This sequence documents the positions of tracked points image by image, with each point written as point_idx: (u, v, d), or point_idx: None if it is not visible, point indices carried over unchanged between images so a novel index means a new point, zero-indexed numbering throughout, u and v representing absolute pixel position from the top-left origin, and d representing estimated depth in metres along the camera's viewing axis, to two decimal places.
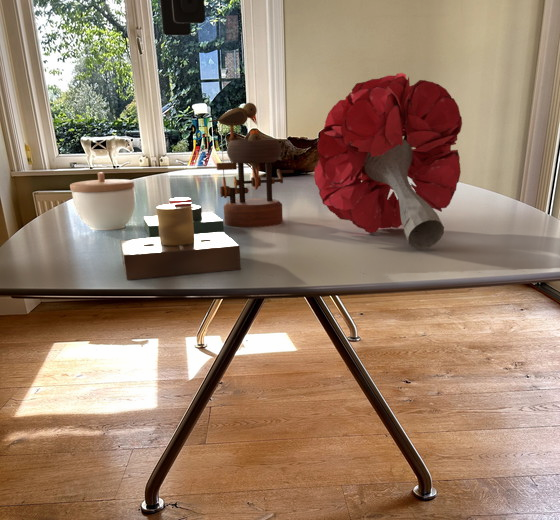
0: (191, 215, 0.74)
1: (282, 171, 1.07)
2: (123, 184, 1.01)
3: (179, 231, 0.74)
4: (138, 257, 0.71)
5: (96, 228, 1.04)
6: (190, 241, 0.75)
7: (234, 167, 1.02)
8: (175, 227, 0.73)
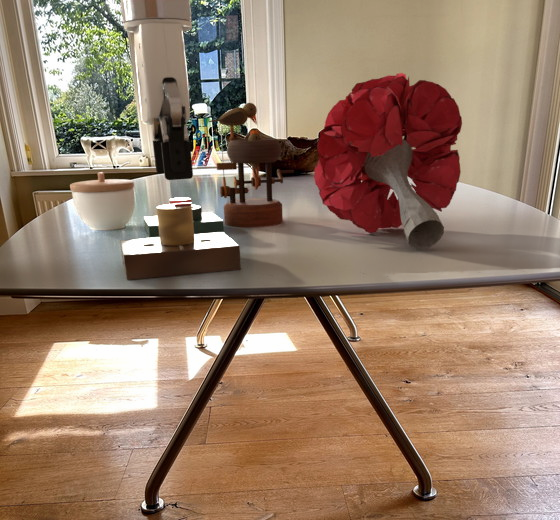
0: (191, 215, 0.74)
1: (282, 171, 1.07)
2: (123, 184, 1.01)
3: (179, 231, 0.74)
4: (138, 257, 0.71)
5: (96, 228, 1.04)
6: (190, 241, 0.75)
7: (234, 167, 1.02)
8: (175, 227, 0.73)
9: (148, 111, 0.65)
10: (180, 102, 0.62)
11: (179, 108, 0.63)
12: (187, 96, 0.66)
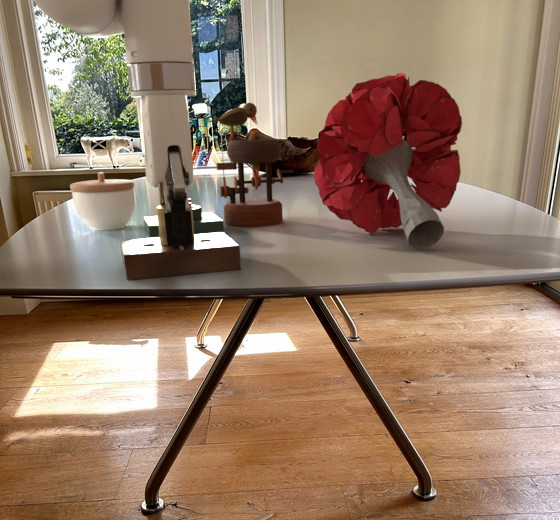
0: (191, 215, 0.74)
1: (282, 171, 1.07)
2: (123, 184, 1.01)
3: None
4: (138, 257, 0.71)
5: (96, 228, 1.04)
6: None
7: (234, 167, 1.02)
8: None
9: (153, 176, 0.68)
10: (184, 189, 0.67)
11: (182, 192, 0.68)
12: (191, 162, 0.69)
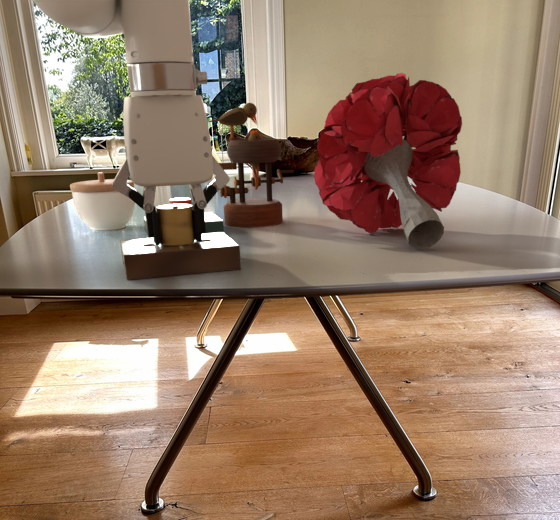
0: (168, 218, 0.73)
1: (282, 171, 1.07)
2: None
3: None
4: (138, 257, 0.71)
5: (96, 228, 1.04)
6: (165, 243, 0.74)
7: (234, 167, 1.02)
8: None
9: None
10: None
11: (118, 191, 0.72)
12: (130, 163, 0.69)
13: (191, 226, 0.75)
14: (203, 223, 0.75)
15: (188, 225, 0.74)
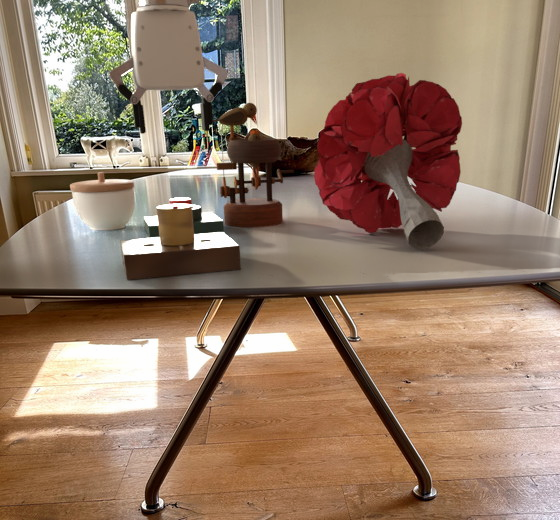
0: (168, 218, 0.73)
1: (282, 171, 1.07)
2: (123, 184, 1.01)
3: None
4: (138, 257, 0.71)
5: (96, 228, 1.04)
6: (165, 243, 0.74)
7: (234, 167, 1.02)
8: (158, 225, 0.75)
9: (136, 80, 0.90)
10: (109, 75, 0.86)
11: (111, 79, 0.86)
12: (136, 68, 0.85)
13: (191, 226, 0.75)
14: (210, 115, 0.91)
15: (188, 225, 0.74)
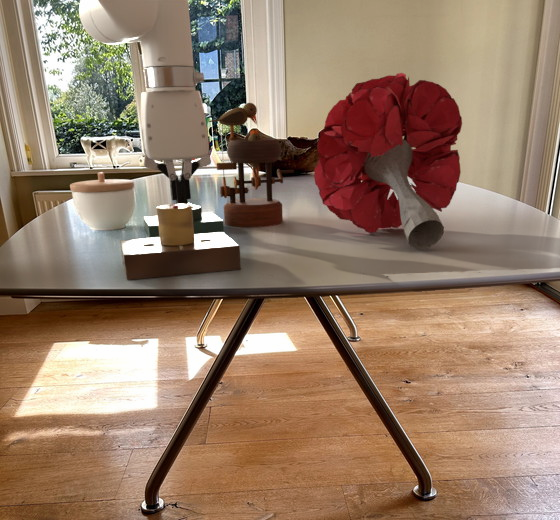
0: (168, 218, 0.73)
1: (282, 171, 1.07)
2: (123, 184, 1.01)
3: None
4: (138, 257, 0.71)
5: (96, 228, 1.04)
6: (165, 243, 0.74)
7: (234, 167, 1.02)
8: (158, 225, 0.75)
9: (145, 150, 0.97)
10: (146, 167, 0.95)
11: None
12: (146, 142, 0.92)
13: (191, 226, 0.75)
14: (188, 191, 0.98)
15: (188, 225, 0.74)
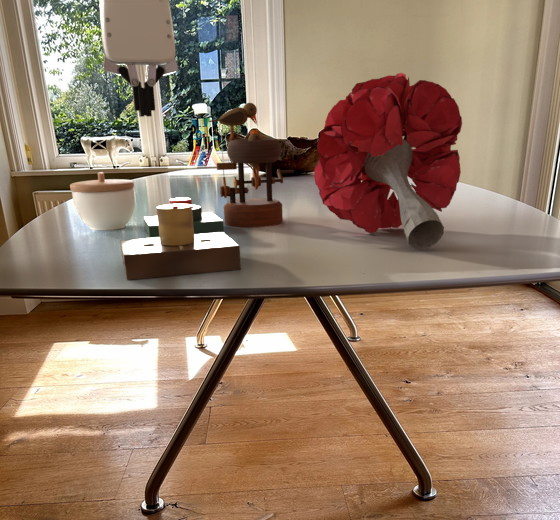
0: (168, 218, 0.73)
1: (282, 171, 1.07)
2: (123, 184, 1.01)
3: None
4: (138, 257, 0.71)
5: (96, 228, 1.04)
6: (165, 243, 0.74)
7: (234, 167, 1.02)
8: (158, 225, 0.75)
9: None
10: (105, 70, 0.86)
11: (109, 71, 0.86)
12: (104, 39, 0.83)
13: (191, 226, 0.75)
14: (153, 100, 0.89)
15: (188, 225, 0.74)
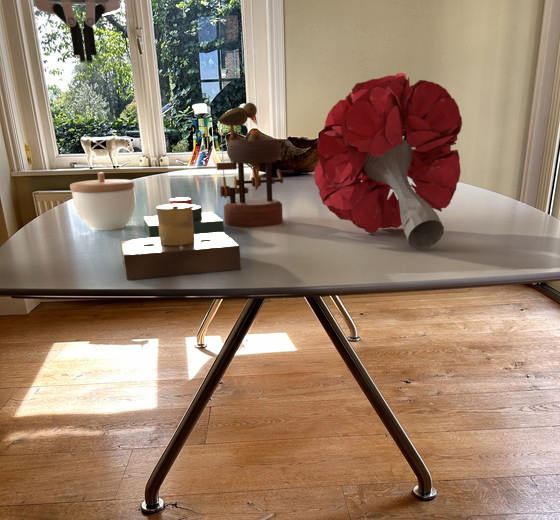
0: (168, 218, 0.73)
1: (282, 171, 1.07)
2: (123, 184, 1.01)
3: None
4: (138, 257, 0.71)
5: (96, 228, 1.04)
6: (165, 243, 0.74)
7: (234, 167, 1.02)
8: (158, 225, 0.75)
9: None
10: (37, 8, 0.77)
11: (43, 10, 0.78)
12: None
13: (191, 226, 0.75)
14: (93, 43, 0.80)
15: (188, 225, 0.74)
